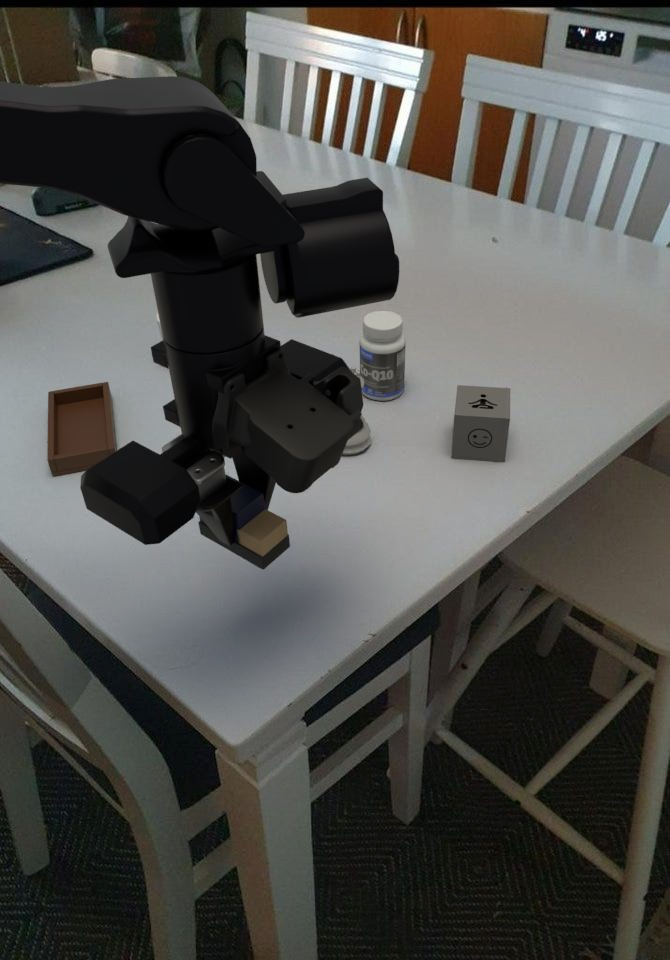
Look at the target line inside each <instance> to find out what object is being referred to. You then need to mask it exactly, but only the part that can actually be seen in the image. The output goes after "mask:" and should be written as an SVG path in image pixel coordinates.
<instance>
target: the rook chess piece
mask: <svg viewBox="0 0 670 960" xmlns="http://www.w3.org/2000/svg"><path fill="white" fill-rule="evenodd" d="M349 368H350V370H351V372H352V373H354V374H355V375H356V376H357V377H359V378H360V381H361V388H362V387H363V386H364V380H363V378H362V377H361V376H360V370H357V368H356V367H353V366H351V367H349ZM362 411H363V410H361V417H360V418H361V419H362V421H363V423H364V427H363V428H362V429H361V430H360V431H359V432H357V433H356V434H355V435H354V436H353V437H351V438H350V439H349V440H348V441H347V444H346V446H345V449H344V451H343V454H342V456H352V455H358V454H360V453H362V452H364V450H366V449H367V448H368V447H369V446H370V444H371V443H372V436H371V428H370V426H369V424H368V422H367V421H366V418H365V417H364V416H363V412H362Z"/></svg>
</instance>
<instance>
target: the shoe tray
mask: <svg viewBox="0 0 670 960" xmlns="http://www.w3.org/2000/svg"><path fill="white" fill-rule="evenodd" d="M115 423H116V422H115V415H114V405H113V396H112V392H111V388H110V383H109V381H104V382H98V383H92V384H85V385H79V386H74V387H67V388H62V389H56V390H51V391H50V390H49V391H48V392H47V456H46V457H47V458H46V459H47V463H48V466H49V469H50V470H49V471H50V472H51V475H52V477H57V476H62V475H68V474H74V473H78V472H85V471H86V470H87V469H89V468H91V467H92V466H94V465H95V464H97V463H98V462H100V461H102V460H103V459H105V458H106V457H108V456H109V455H111V454H112V453H114V452H116V451H117V450H118V445H117V436H116V434H117V433H116V425H115Z"/></svg>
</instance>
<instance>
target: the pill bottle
mask: <svg viewBox="0 0 670 960" xmlns="http://www.w3.org/2000/svg"><path fill="white" fill-rule="evenodd" d="M403 322H404V321H403V318H402V316H401V315H400V314H398V313H396V312H393V311H389V310H375V311H373V312H370V313H368V314H366V315H365V316H364V317H363V320H362V333H361V335H360V338H359V344H358V346H359V371H360V376H361V377H362V378H363V380H364V386H363V387H362V388H361V389H362V395H363V396H365V397H366V398H368V399H370V400H374V401H379V402H386V401H387V402H388V401H391V400H394V399H397V398H399V397H400V396H401V395H402V394H403V393H404V390H405V378H406V377H405V376H406V375H405V374H406V348H407V347H406V345H407V341H406V336H405V335H404V334H403V330H404V329H403V324H404V323H403Z"/></svg>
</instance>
